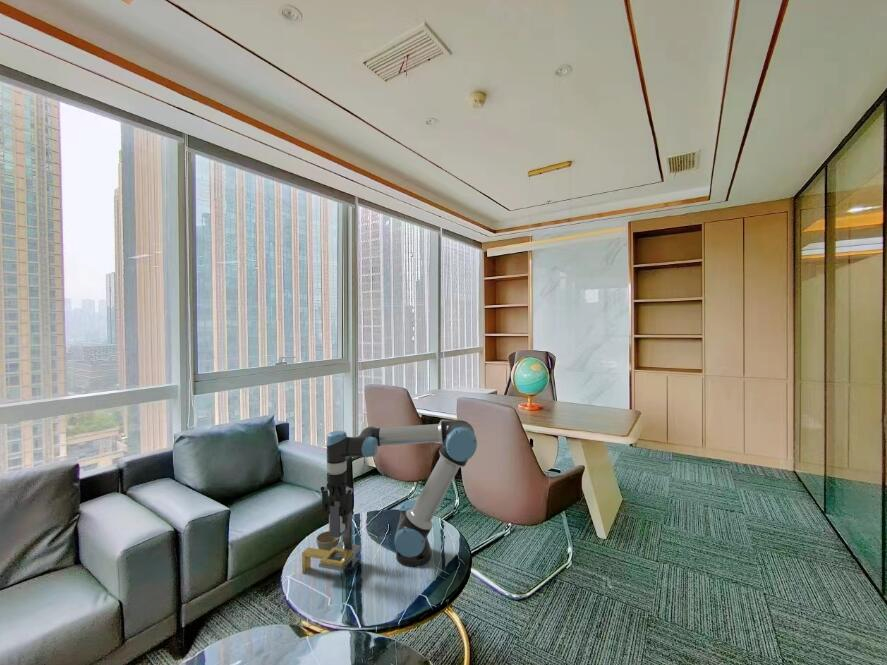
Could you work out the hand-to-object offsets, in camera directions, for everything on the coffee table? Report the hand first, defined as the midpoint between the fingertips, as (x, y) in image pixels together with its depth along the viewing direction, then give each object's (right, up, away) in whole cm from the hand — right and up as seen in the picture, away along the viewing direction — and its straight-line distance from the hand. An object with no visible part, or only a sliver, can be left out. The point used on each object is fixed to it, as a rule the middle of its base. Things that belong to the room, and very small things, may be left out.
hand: (337, 530), depth 151 cm
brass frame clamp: (-4, -18, +5) cm, 19 cm away
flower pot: (-8, -18, +16) cm, 26 cm away
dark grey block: (0, -2, 0) cm, 2 cm away
